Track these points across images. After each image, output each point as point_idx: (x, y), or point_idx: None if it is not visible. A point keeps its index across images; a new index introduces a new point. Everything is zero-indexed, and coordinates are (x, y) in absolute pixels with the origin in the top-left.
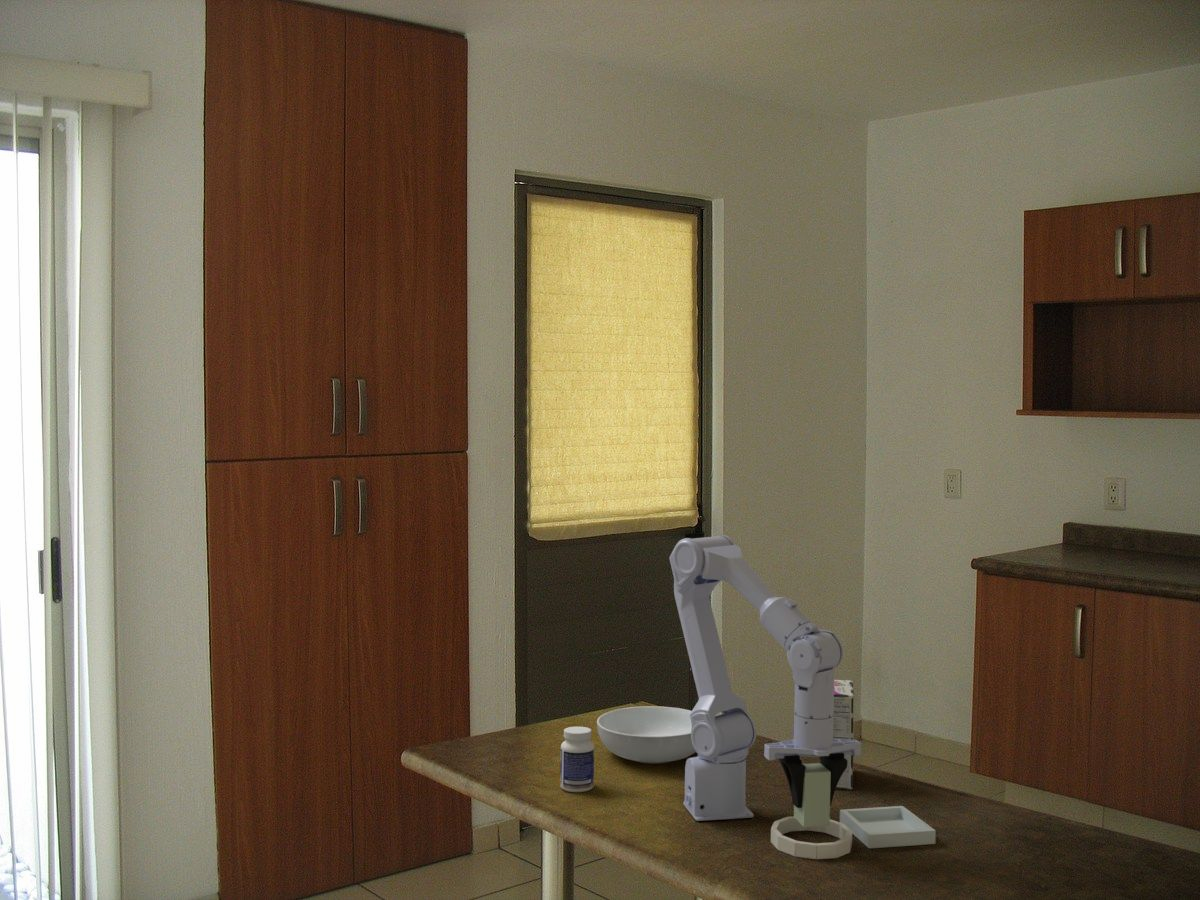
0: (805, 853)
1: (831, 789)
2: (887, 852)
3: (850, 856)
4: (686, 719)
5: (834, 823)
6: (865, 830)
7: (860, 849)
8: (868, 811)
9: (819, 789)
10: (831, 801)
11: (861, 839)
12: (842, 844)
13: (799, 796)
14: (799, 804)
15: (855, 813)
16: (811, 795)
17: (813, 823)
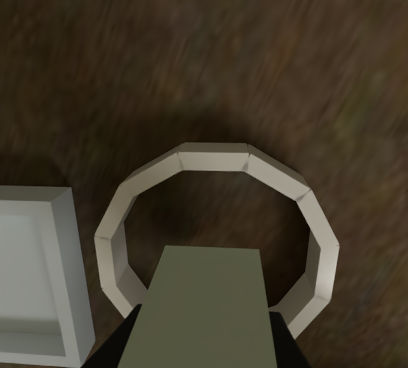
0: (277, 163)
1: (115, 354)
2: (28, 154)
3: (140, 146)
4: None
5: (126, 297)
6: (52, 234)
7: (96, 186)
8: (10, 348)
9: (187, 355)
10: (130, 313)
11: (75, 234)
12: (154, 163)
13: (287, 346)
14: (277, 320)
15: (46, 348)
16: (233, 333)
17: (223, 252)
